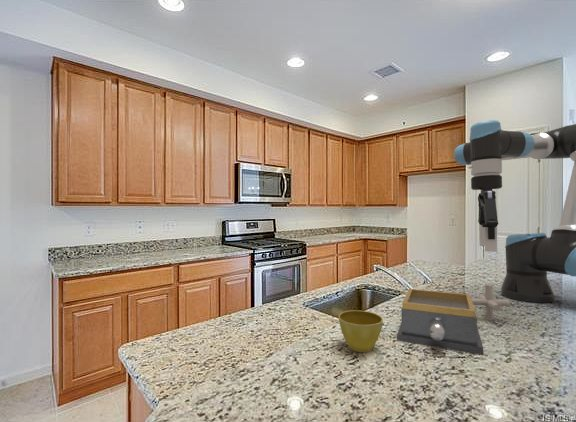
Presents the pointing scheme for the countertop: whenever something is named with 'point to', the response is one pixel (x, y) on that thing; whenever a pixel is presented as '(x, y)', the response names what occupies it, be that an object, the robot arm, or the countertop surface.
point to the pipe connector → (490, 302)
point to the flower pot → (360, 329)
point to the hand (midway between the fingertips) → (487, 248)
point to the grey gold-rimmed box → (440, 320)
